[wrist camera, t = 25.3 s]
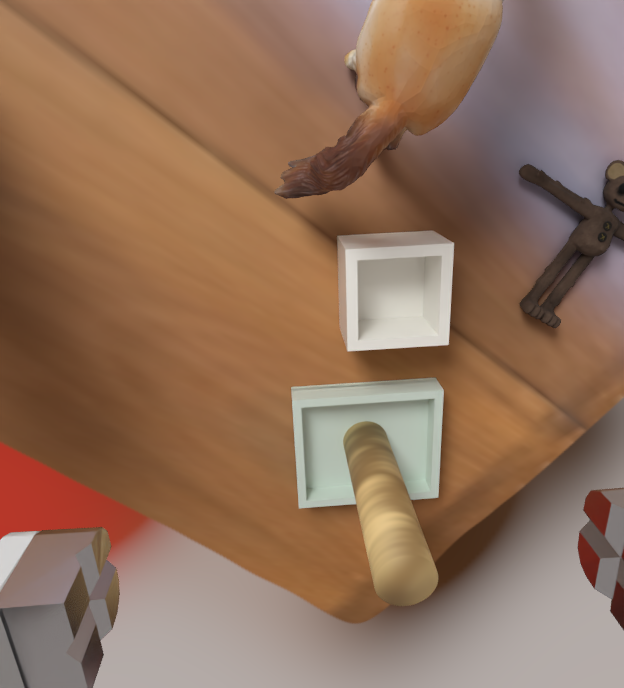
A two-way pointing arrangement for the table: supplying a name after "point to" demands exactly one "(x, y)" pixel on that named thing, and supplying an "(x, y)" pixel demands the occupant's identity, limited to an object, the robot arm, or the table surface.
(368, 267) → the white square box
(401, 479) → the dowel
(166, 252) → the table surface
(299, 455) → the tray
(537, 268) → the table surface
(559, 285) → the bear figurine
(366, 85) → the horse figurine
